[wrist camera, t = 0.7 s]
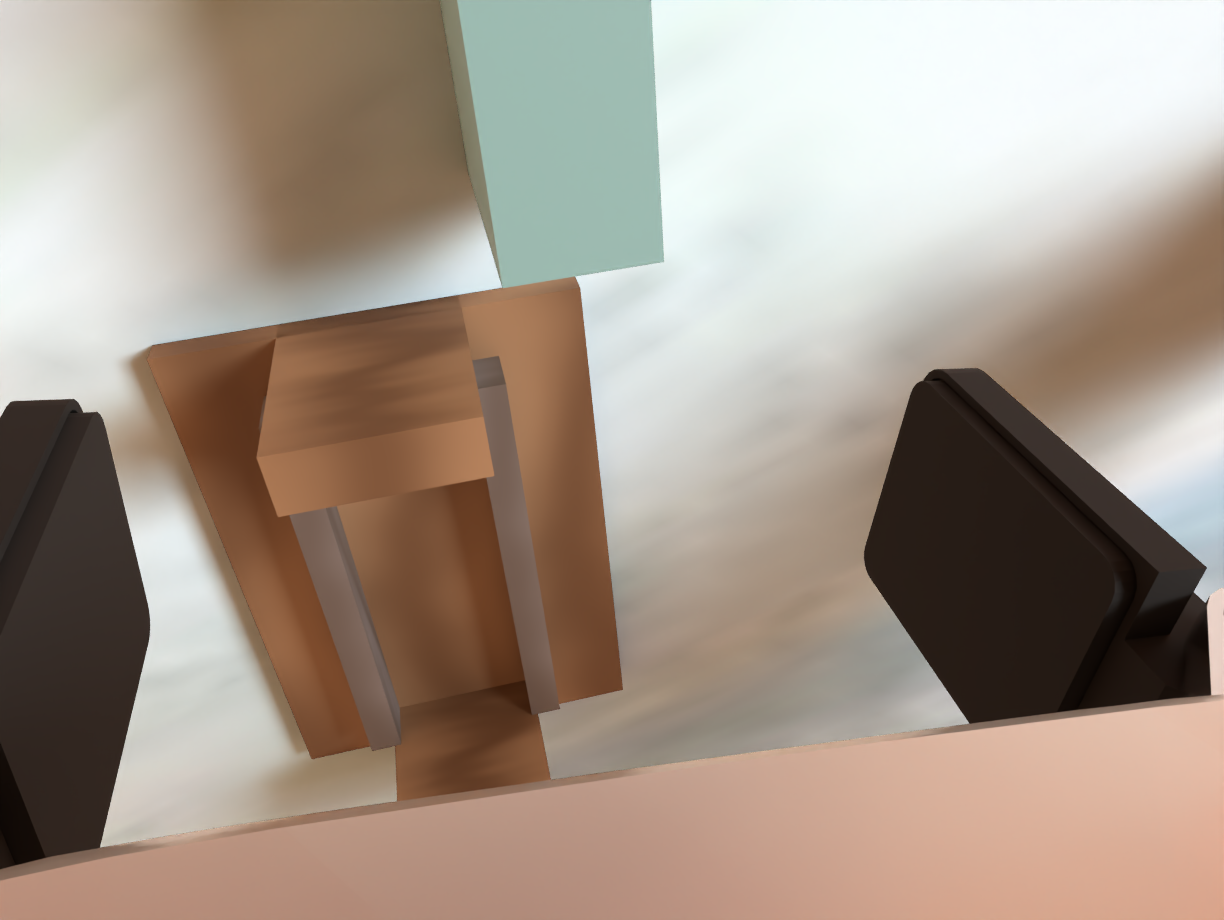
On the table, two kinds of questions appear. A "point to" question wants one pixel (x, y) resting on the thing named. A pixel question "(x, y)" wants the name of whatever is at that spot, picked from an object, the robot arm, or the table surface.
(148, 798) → the table surface
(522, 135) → the door panel
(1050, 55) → the table surface
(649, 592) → the table surface
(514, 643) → the brown wooden holder
